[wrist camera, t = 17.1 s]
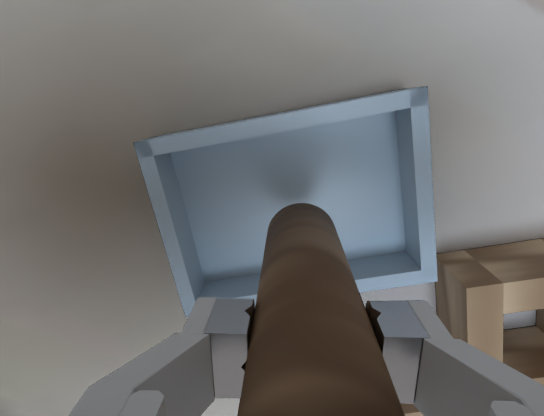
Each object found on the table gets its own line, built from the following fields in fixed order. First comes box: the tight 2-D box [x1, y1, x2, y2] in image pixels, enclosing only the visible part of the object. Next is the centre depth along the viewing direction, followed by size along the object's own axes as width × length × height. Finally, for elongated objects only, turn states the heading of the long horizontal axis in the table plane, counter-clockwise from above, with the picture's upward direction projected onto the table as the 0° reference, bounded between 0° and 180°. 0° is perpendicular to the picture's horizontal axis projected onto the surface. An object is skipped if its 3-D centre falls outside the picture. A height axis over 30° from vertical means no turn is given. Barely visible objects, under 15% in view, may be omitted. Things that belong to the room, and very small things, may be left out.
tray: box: [133, 86, 438, 317], centre depth 19 cm, size 14×10×3 cm
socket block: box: [435, 238, 544, 385], centre depth 20 cm, size 8×8×4 cm
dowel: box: [238, 203, 405, 416], centre depth 10 cm, size 3×3×10 cm
